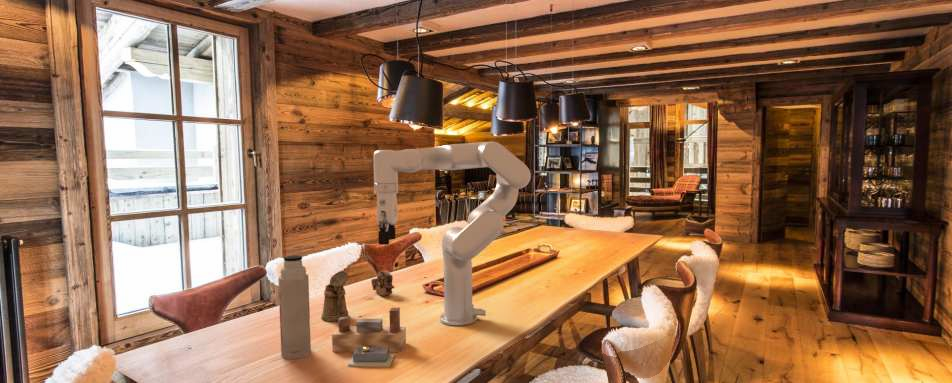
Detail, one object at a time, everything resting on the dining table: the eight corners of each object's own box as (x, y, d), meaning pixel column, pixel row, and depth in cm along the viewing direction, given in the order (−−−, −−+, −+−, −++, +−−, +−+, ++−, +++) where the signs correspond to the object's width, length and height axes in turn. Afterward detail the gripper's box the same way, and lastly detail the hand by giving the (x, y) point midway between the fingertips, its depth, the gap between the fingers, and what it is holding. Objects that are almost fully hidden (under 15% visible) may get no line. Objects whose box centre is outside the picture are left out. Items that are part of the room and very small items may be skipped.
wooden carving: (367, 292, 209) (366, 268, 208) (377, 290, 212) (376, 266, 211) (388, 300, 196) (387, 275, 195) (398, 298, 199) (397, 273, 198)
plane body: (406, 343, 152) (405, 305, 151) (401, 352, 145) (400, 312, 144) (340, 342, 153) (339, 305, 152) (332, 351, 146) (331, 312, 145)
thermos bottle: (277, 359, 140) (273, 259, 138) (285, 348, 148) (282, 253, 146) (307, 358, 141) (303, 258, 139) (313, 347, 149) (310, 253, 147)
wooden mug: (328, 327, 166) (326, 273, 165) (318, 316, 178) (317, 265, 177) (355, 322, 171) (353, 269, 169) (344, 312, 182) (342, 262, 181)
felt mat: (394, 356, 142) (394, 354, 142) (388, 366, 135) (388, 364, 135) (355, 355, 142) (355, 353, 142) (347, 366, 135) (347, 364, 135)
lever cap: (389, 355, 141) (389, 344, 141) (386, 362, 136) (385, 350, 136) (357, 355, 141) (357, 344, 141) (353, 362, 137) (352, 350, 136)
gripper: (392, 190, 153) (393, 246, 155) (402, 186, 171) (403, 237, 172) (367, 190, 154) (369, 246, 155) (380, 187, 171) (382, 237, 172)
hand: (387, 241), depth 163 cm, fingers open, 9 cm apart
